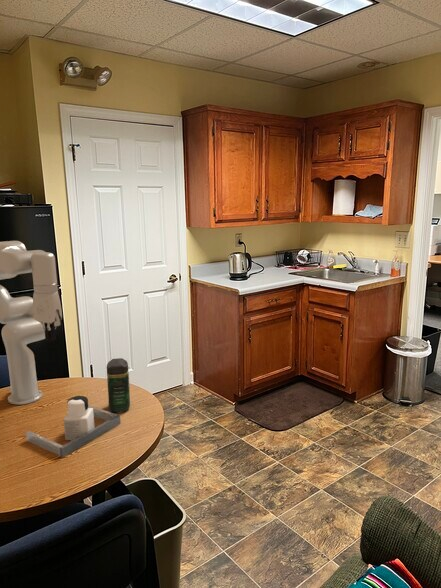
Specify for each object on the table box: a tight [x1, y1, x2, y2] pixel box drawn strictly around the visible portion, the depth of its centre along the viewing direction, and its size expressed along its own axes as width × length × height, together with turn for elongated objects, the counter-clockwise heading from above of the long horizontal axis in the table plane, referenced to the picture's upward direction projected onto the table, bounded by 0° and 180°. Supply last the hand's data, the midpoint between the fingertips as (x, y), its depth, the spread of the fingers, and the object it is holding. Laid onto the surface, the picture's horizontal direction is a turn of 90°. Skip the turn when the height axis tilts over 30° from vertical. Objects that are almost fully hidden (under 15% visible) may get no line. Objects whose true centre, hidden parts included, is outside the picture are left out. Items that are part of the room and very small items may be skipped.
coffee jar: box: [106, 357, 131, 413], centre depth 167 cm, size 10×8×19 cm
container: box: [63, 395, 96, 441], centre depth 148 cm, size 8×8×13 cm
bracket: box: [25, 404, 122, 458], centre depth 151 cm, size 18×24×3 cm
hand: (50, 340), depth 156 cm, fingers closed
